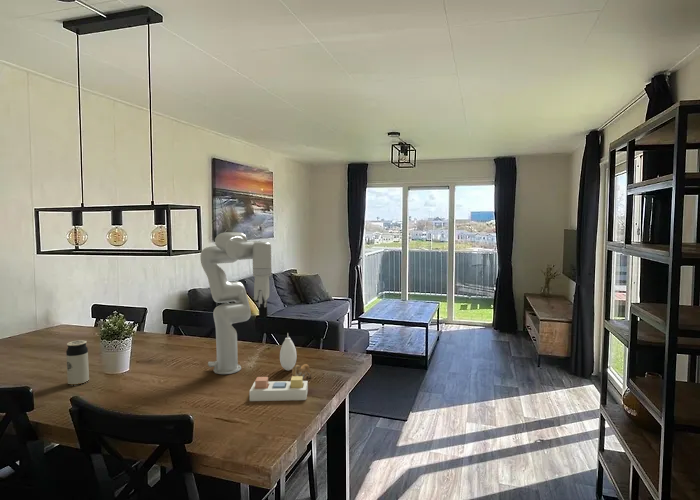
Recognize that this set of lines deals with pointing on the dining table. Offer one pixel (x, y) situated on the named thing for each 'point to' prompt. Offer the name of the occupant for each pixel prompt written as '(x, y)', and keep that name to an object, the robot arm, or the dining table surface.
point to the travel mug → (77, 362)
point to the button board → (279, 392)
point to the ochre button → (296, 381)
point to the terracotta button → (261, 383)
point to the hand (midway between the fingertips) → (263, 316)
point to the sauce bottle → (288, 354)
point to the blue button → (279, 385)
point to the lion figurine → (301, 370)
